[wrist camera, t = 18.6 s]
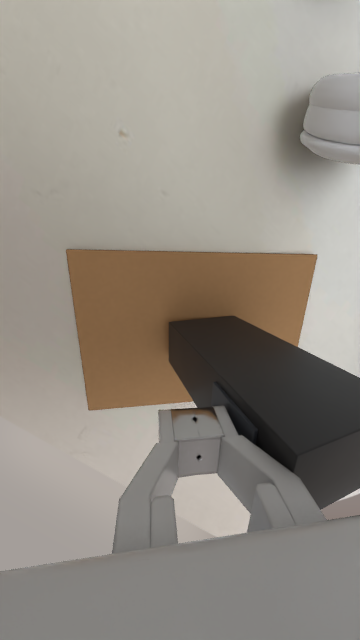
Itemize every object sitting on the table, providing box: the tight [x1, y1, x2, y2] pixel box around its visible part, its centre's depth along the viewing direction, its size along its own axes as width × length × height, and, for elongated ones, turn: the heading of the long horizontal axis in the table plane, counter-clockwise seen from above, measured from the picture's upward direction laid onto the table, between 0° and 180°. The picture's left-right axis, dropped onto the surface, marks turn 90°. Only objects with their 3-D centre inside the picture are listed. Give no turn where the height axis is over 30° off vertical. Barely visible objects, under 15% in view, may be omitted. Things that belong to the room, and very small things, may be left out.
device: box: [169, 316, 360, 510], centre depth 13 cm, size 6×4×12 cm, turn 89°
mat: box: [66, 249, 317, 410], centre depth 19 cm, size 20×14×1 cm
